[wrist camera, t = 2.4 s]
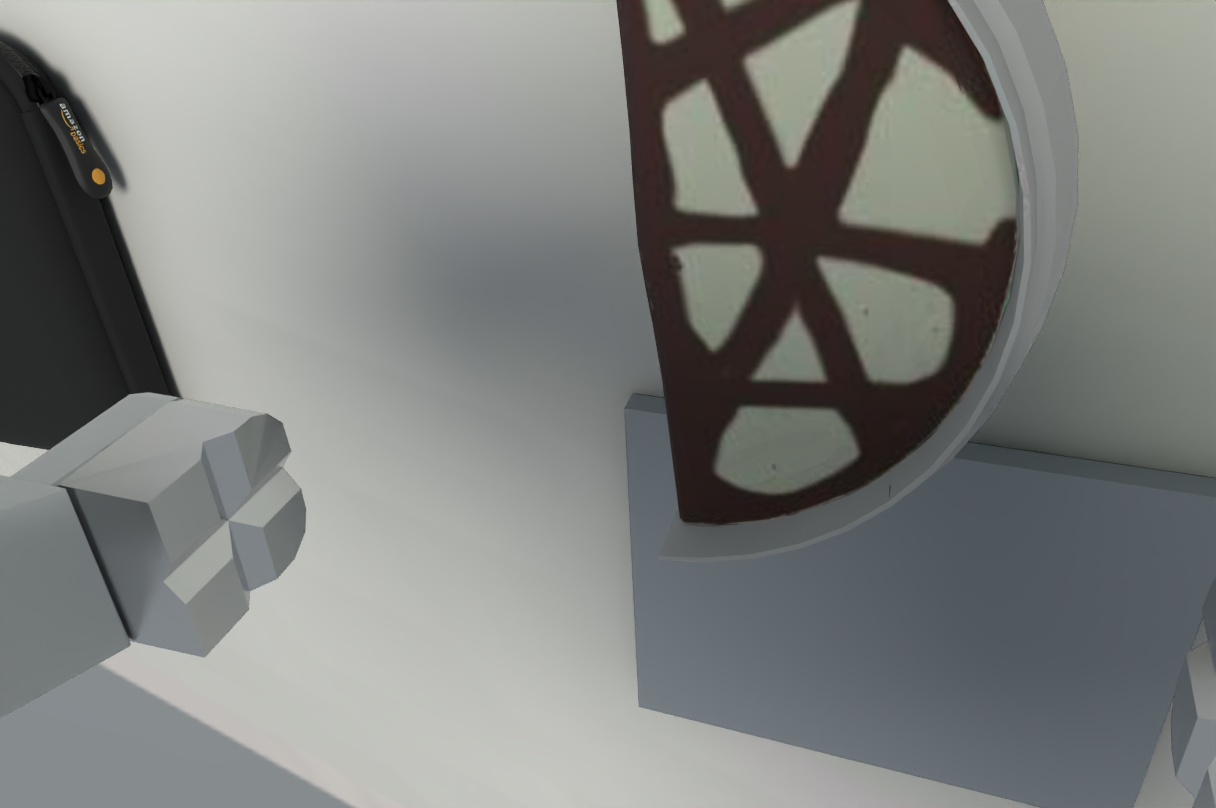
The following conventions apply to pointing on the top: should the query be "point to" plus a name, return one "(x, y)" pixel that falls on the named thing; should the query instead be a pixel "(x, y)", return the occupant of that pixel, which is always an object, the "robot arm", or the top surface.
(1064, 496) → the slate mat
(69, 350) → the carrying case or bag
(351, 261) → the top surface
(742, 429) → the food container
